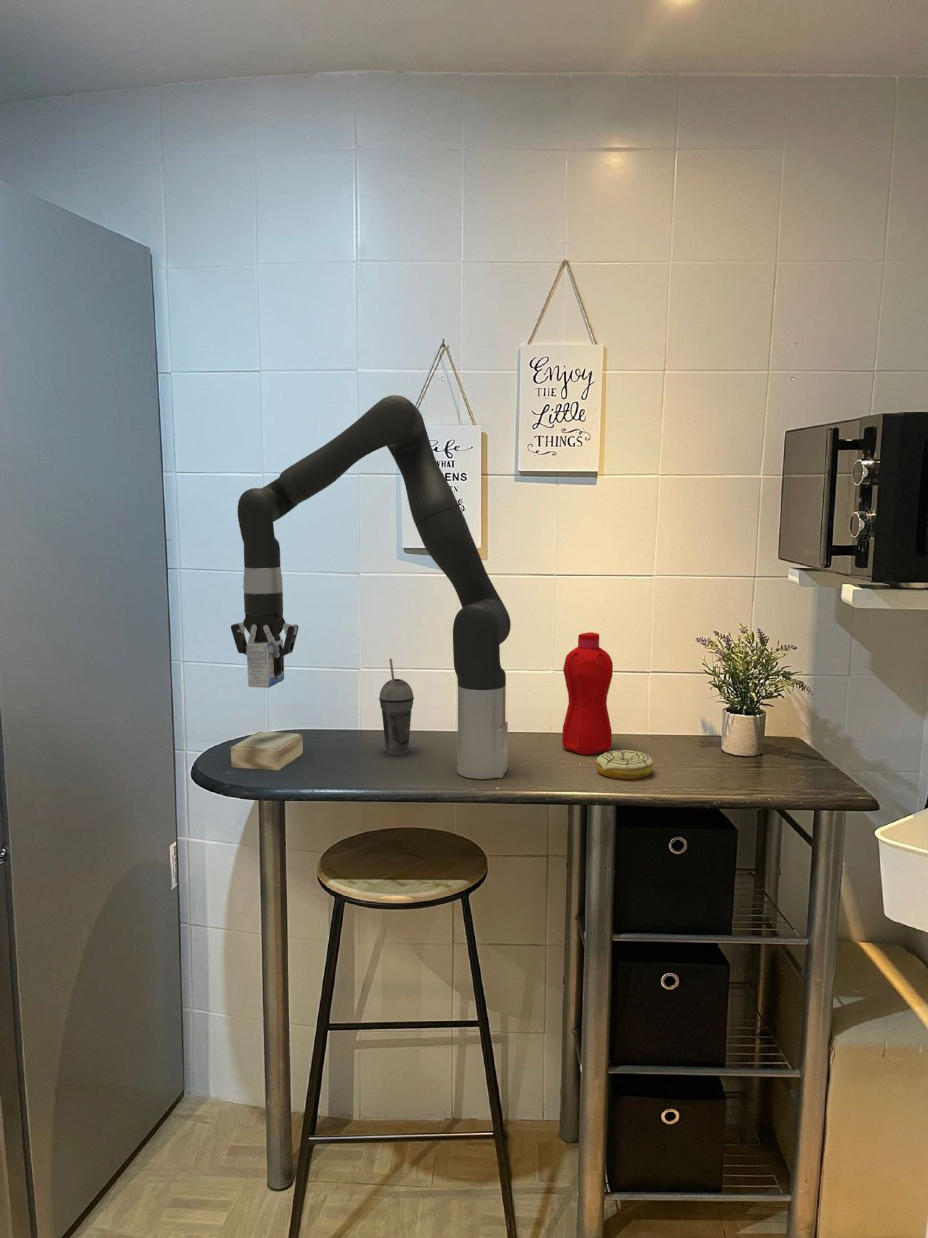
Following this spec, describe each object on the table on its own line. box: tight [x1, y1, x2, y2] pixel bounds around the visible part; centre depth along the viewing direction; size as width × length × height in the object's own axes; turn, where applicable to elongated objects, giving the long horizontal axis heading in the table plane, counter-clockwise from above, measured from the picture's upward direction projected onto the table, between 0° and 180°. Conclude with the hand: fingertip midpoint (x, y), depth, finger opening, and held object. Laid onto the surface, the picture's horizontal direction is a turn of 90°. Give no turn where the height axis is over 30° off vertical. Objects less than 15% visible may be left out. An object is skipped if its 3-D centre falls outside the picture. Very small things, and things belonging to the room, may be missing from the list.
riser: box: [230, 731, 304, 771], centre depth 177 cm, size 10×12×4 cm
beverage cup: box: [378, 658, 415, 756], centre depth 182 cm, size 7×7×20 cm
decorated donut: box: [596, 749, 654, 780], centre depth 169 cm, size 10×11×4 cm
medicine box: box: [246, 639, 285, 689], centre depth 175 cm, size 8×4×9 cm, turn 168°
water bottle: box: [561, 631, 614, 756], centre depth 184 cm, size 9×11×25 cm
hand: (266, 674), depth 175 cm, fingers closed on medicine box, 4 cm apart
